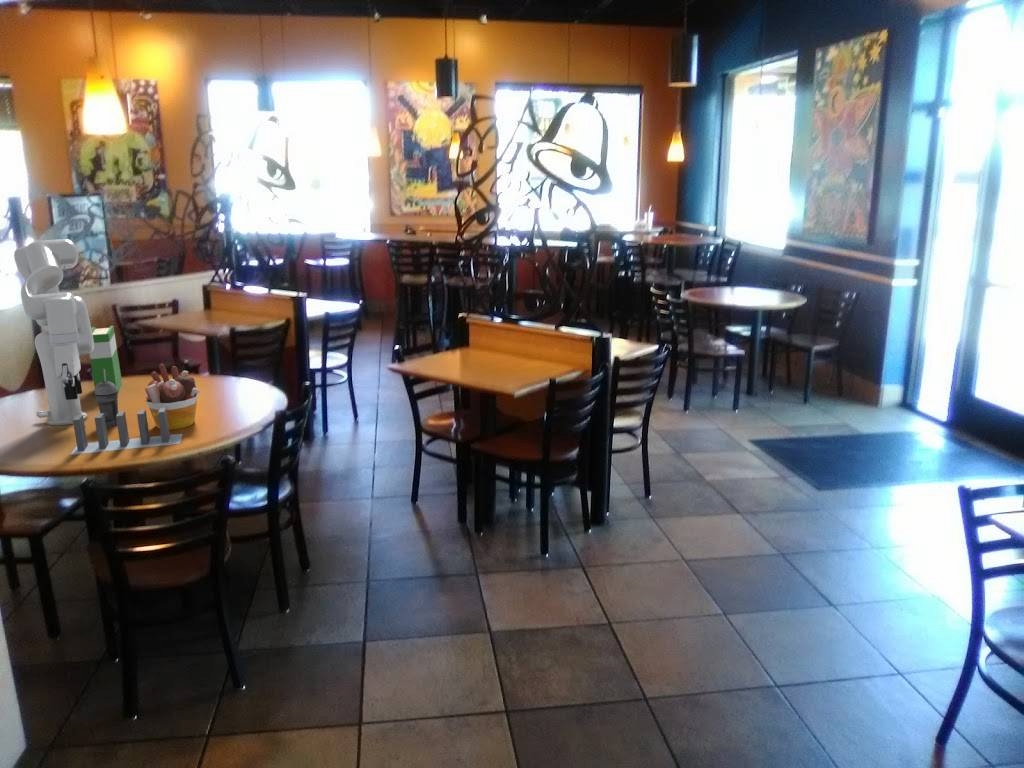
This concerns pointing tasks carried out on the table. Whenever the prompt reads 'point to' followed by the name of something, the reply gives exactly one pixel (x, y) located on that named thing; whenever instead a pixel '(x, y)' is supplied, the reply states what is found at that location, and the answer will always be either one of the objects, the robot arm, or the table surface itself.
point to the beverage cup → (107, 401)
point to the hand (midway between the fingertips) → (74, 395)
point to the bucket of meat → (173, 397)
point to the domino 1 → (80, 432)
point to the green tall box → (105, 357)
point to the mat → (129, 444)
